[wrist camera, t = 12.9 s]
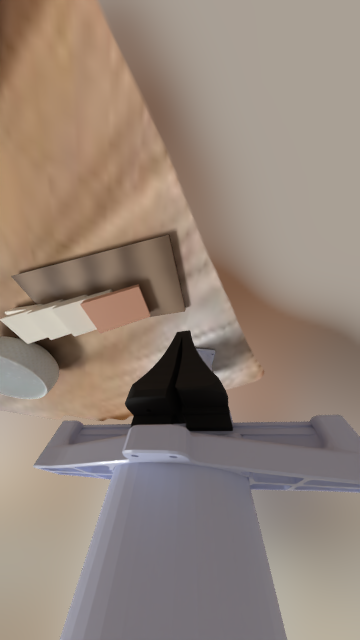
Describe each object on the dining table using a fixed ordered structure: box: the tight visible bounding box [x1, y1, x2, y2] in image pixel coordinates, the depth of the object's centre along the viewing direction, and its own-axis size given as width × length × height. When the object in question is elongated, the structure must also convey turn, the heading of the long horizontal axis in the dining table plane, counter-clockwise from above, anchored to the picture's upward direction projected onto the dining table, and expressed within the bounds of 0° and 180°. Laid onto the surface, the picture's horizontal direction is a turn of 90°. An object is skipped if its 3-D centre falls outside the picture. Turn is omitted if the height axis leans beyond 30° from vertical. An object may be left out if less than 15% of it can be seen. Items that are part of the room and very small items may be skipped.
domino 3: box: [26, 294, 87, 340], centre depth 21 cm, size 2×5×8 cm
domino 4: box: [51, 289, 113, 337], centre depth 20 cm, size 2×5×8 cm
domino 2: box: [0, 299, 64, 344], centre depth 22 cm, size 2×5×8 cm
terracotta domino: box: [80, 284, 150, 333], centre depth 20 cm, size 2×5×8 cm
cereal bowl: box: [0, 336, 59, 399], centre depth 29 cm, size 17×17×7 cm
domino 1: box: [4, 304, 43, 315], centre depth 24 cm, size 2×5×8 cm
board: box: [11, 235, 185, 317], centre depth 21 cm, size 26×11×1 cm, turn 102°
